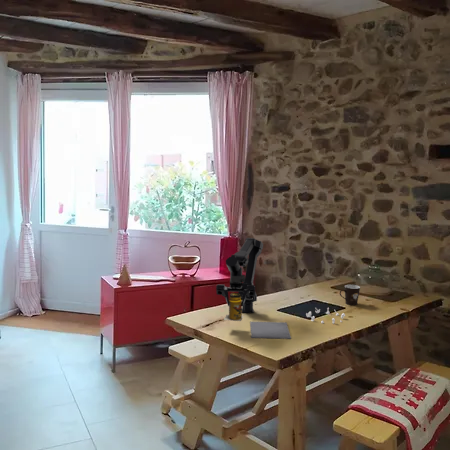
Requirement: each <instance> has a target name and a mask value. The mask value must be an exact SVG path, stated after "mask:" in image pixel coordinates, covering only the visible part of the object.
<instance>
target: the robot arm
mask: <svg viewBox="0 0 450 450" xmlns="http://www.w3.org/2000/svg"><path fill="white" fill-rule="evenodd" d="M244 241H245V242H244V243H243V245H242V246H241V248H240V249H239V251H237V252H235V253H234V254H231V255H230V256H229V257H228V258H227V259H226V260H225V265H226V267H227V268H228V272H229V273H230V277H229V286H225V284H223V283H222V284H216V286H215V290H216V295H217V296H218V295H220V296H222V297H224V298H225V301H226V304H227V307H229V300H230V296H229V293H230V292H231V293H239V294H241V300H242V314H244V313H247V314H254V313H255V311H254V302H257V301H258V300H257V299H258V295H257V292H256V286H255V285H254V280H255V279H254V278H255V273H256V268H257V267H256V266H257V262H258V261H257V260H258V258H259V256H260V255H261V254H262V250H263V248H264V243H263V242H262V241H261V240H259V239H256V238H254V237H247V238H245V240H244ZM242 267H246V269H245V270H246V271H245V274H243V268H242Z"/></svg>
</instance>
